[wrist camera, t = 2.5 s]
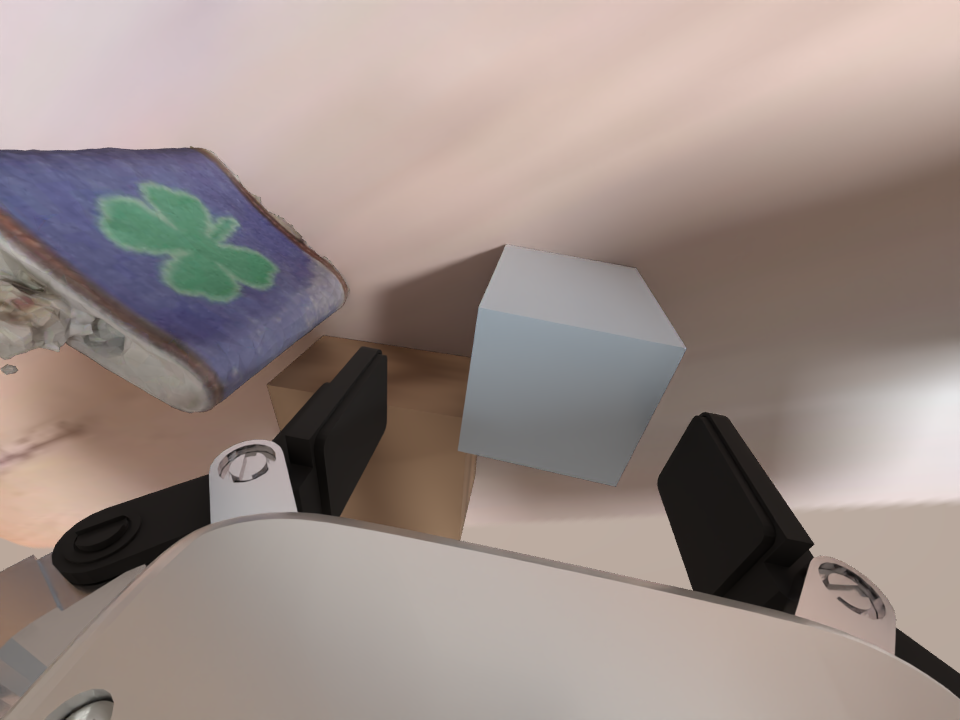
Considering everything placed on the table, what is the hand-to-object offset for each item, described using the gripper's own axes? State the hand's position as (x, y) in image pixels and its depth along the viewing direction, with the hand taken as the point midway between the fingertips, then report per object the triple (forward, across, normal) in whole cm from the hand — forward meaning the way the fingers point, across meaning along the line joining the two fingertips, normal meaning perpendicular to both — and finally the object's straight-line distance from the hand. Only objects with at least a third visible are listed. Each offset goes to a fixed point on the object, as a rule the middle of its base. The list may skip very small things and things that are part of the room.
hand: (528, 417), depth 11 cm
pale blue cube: (+7, -1, 0) cm, 7 cm away
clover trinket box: (+8, +13, -2) cm, 15 cm away
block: (+8, +6, +8) cm, 12 cm away
